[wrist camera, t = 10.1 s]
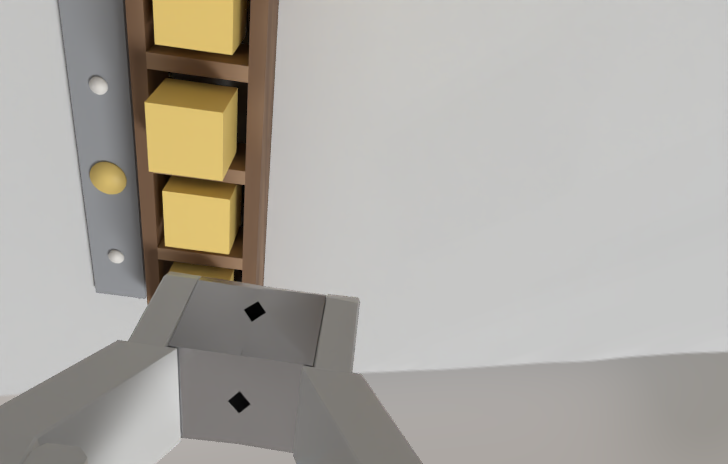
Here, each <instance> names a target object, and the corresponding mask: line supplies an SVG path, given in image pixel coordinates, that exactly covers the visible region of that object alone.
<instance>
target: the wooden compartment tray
mask: <svg viewBox="0 0 728 464" xmlns="http://www.w3.org/2000/svg"><path fill="white" fill-rule="evenodd" d="M278 6H279V0H251V3H250V36H249V44H242V43H240V45H239V46H238V48H237V49H236V51H235V52H234V54H233V55H228V54H221V53H213V52H206V51H199V50H192V49H185V48H178V47H171V46H164V45H157V44H155V38H154V18H153V0H125V7H126V20H127V34H128V48H129V61H130V75H131V88H132V102H133V115H134V129H135V142H136V156H137V169H138V183H139V196H140V210H141V223H142V237H143V250H144V264H145V277H146V291H147V304H149V302H150V300H151V298H152V296H153V295H154V293H155V291H156V289H157V287H158V286H159V284H160V282H161V280H162V278H163V276H165V275H166V274H167V273H168V272H169V270H170V268H171V266H172V264H173V262H183V263H191V264H199V265H207V266H214V267H222V268H230V269H238V270H242V282H243V283H249V284H255V285H261V286H263V281H264V263H265V244H266V226H267V208H268V189H269V171H270V153H271V134H272V116H273V98H274V79H275V61H276V43H277V24H278ZM168 72H174V73H181V74H189V75H196V76H203V77H210V78H217V79H225V80H232V81H239V82H246V83H248V100H247V133H246V144H245V143H238V142H237V148H236V154H235V156H234V158H233V160H232V162H231V164H230V167H229V169H228V171H227V173H226V175H225V177H224V179H223V181H219V182H226V183H234V184H241V185H245V197H244V227H239V230H238V232H237V235H236V238H235V240H234V243H233V245H232V248H231V251H230V253H229V254H222V253H214V252H207V251H199V250H191V249H183V248H176V247H168V246H165V235H164V215H163V196H162V190H163V189H164V187H165V186H166V184H167V182H168V181H169V179H170V178H171V176H172V174H164V173H157V172H149V166H148V150H147V134H146V118H145V101H146V100H147V99H148V98H149V96H150V95H151V94H152V93H153V92H154V91H155V90H156V89H157V87H158V86H159V85H160V84H161V83H162V82H163V81H164V80H165V78H168ZM174 176H179V175H174ZM181 177H187V176H181ZM189 178H194V177H189ZM196 179H202V178H196ZM204 180H209V179H204ZM211 181H217V180H211Z"/></svg>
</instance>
